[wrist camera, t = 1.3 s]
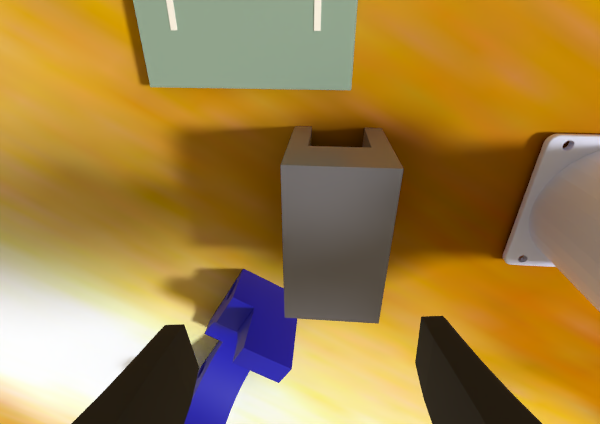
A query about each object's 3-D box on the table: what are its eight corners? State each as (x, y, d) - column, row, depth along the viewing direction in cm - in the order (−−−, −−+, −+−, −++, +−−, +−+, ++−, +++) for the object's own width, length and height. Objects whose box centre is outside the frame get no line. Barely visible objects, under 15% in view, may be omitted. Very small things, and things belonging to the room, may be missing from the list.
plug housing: (381, 127, 18) (403, 168, 12) (366, 251, 21) (378, 323, 16) (294, 125, 18) (280, 164, 13) (295, 248, 22) (284, 317, 16)
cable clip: (243, 266, 23) (218, 336, 18) (299, 294, 24) (291, 369, 19) (184, 360, 28) (151, 434, 23) (231, 380, 29) (209, 456, 24)
